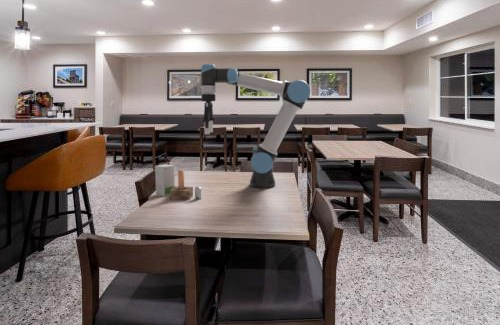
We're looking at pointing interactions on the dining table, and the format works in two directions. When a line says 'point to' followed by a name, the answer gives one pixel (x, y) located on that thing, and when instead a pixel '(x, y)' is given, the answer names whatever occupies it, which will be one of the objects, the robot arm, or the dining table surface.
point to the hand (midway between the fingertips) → (208, 133)
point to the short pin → (197, 193)
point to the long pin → (180, 179)
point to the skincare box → (164, 179)
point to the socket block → (181, 193)
